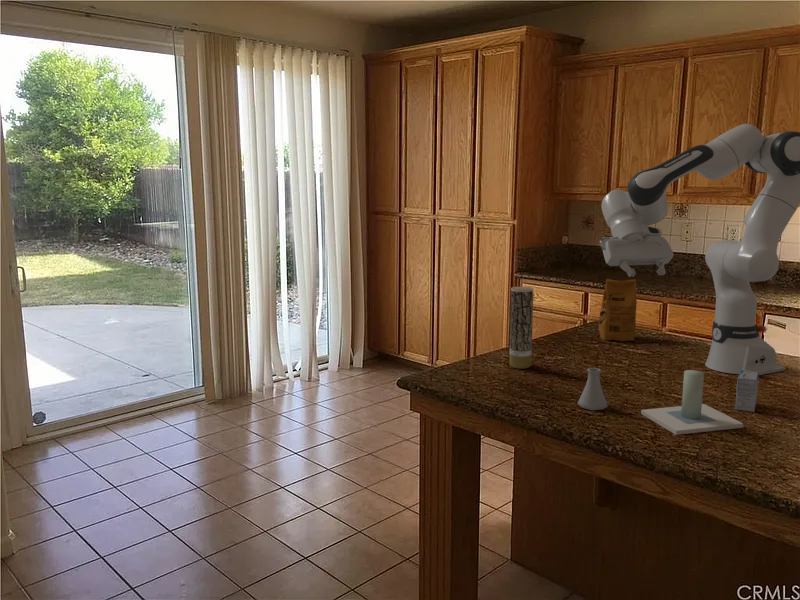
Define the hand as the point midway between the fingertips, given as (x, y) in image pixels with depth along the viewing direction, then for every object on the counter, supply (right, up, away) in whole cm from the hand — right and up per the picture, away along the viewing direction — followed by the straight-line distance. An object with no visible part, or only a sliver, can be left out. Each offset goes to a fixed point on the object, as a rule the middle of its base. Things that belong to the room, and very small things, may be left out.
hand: (647, 274), depth 183 cm
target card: (+1, -37, -24) cm, 44 cm away
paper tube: (-32, -28, +22) cm, 48 cm away
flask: (-20, -35, -14) cm, 42 cm away
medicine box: (+20, -35, -15) cm, 43 cm away
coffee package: (+10, -21, +55) cm, 60 cm away
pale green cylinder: (+1, -35, -25) cm, 43 cm away
